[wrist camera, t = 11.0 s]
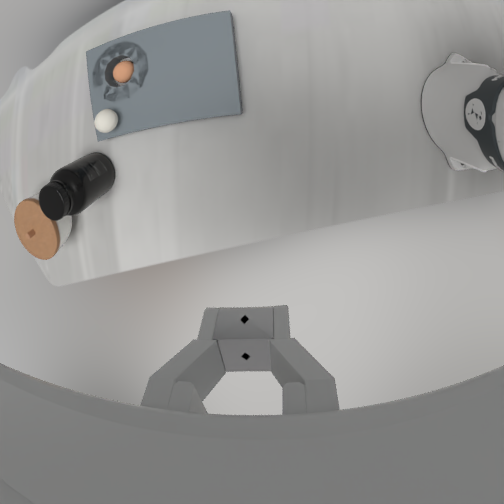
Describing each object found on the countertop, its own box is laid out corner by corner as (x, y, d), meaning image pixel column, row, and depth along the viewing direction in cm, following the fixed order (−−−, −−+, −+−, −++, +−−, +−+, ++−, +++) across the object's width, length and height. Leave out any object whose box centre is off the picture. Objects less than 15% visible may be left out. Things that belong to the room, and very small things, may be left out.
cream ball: (120, 105, 29) (108, 107, 27) (123, 127, 31) (112, 131, 28) (101, 111, 30) (88, 114, 27) (104, 133, 31) (92, 137, 29)
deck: (232, 15, 25) (229, 10, 23) (242, 113, 32) (240, 114, 30) (95, 52, 27) (86, 51, 25) (106, 138, 34) (97, 141, 32)
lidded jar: (76, 182, 38) (41, 205, 30) (86, 239, 43) (58, 269, 35) (35, 183, 38) (2, 204, 30) (46, 235, 43) (18, 261, 35)
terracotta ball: (137, 58, 26) (117, 55, 26) (125, 77, 26) (105, 73, 26) (142, 70, 29) (124, 66, 29) (131, 88, 30) (112, 84, 29)
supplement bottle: (77, 157, 35) (27, 182, 25) (110, 147, 35) (61, 170, 25) (87, 196, 39) (43, 231, 29) (120, 190, 38) (77, 225, 28)
